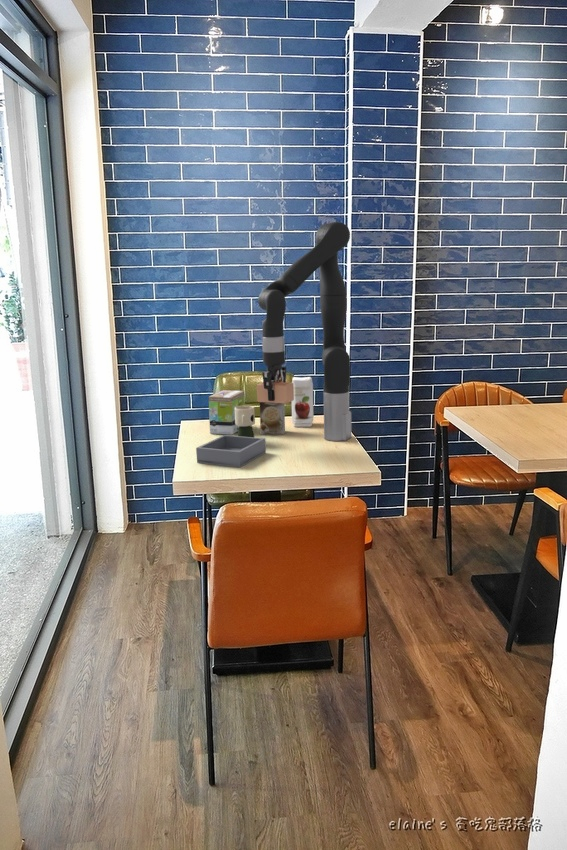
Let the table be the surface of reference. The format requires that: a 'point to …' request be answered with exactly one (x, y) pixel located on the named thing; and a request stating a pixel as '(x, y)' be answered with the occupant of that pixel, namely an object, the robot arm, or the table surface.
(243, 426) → the character mug
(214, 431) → the tea box
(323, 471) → the table surface
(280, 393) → the terracotta crate
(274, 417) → the coffee box
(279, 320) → the robot arm
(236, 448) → the charcoal crate
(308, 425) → the juice carton
